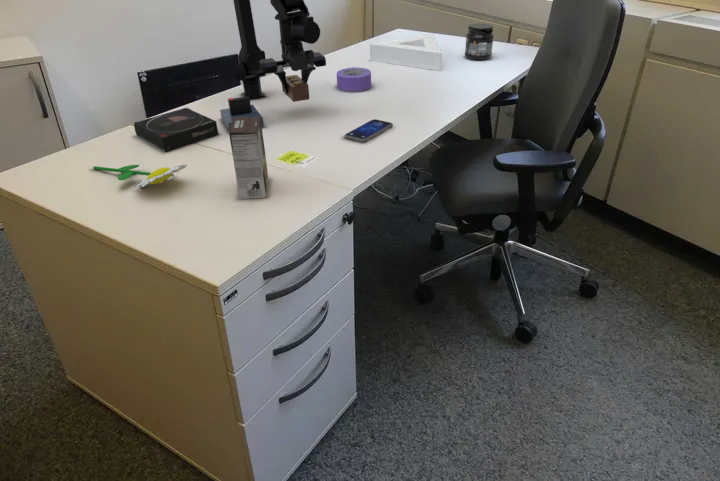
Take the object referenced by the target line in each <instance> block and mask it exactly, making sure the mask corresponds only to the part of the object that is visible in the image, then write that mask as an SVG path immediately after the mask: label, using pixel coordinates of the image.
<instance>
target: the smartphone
mask: <svg viewBox="0 0 720 481" xmlns="http://www.w3.org/2000/svg"><path fill="white" fill-rule="evenodd" d="M393 126H394V124H393V122H390V121H386V120H381V119H377V118H376V119H375V118H373V119H371V120H369V121H367V122H365V123H364V124H362V125H360V126H357V127H356V128H354V129H353V130H351V131H348V132H347V133H345V134H344V138H345V139H348V140H352V141H357V142H359V143H366V142H368V141H370V140H372V139H373V138H375V137H376V136H378V135H380V134H382V133H383V132H385V131H387V130H388V129H390V128H392V127H393Z"/></svg>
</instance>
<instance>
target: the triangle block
mask: <svg viewBox="0 0 720 481" xmlns="http://www.w3.org/2000/svg"><path fill="white" fill-rule="evenodd" d="M369 61H370V62H374V63H375V62H376V63H383V64H390V65H396V66H404V67H411V68H417V69H423V70H425V69H427V70H433V71H439V72H440V71H441V67H442V51H441V49H440V46H439V44H438V41H437V40H436V37H435V35H434V33H432V34H426V35H417V36H413V37H406V38H400V39H394V40H388V41H381V42H374V43H370V44H369Z"/></svg>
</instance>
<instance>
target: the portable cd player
mask: <svg viewBox="0 0 720 481" xmlns="http://www.w3.org/2000/svg"><path fill="white" fill-rule="evenodd" d="M217 124H218V123H217V120H215V119H212V118H210V117H208V116H206V115H203V114H201V113H199V112H197V111H195V110H192V109H190V108H188V107H183V108H180V109H176V110H173V111H170V112H166V113H163V114H162V113H161V114H159V115H156V116H152V117H148V118H144V119H142V120H138V121H135V122H133V127H134V132H135V134H136V137H137V138H139V139H141V140H143V141H144V142H146V143H148V144H150V145H152V146H153V147H155V148H158V150H160V151H162V152H164V153H168V152H171V151H174V150H177V149H180V148H183V147H186V146H189V145H192V144H195V143H199V142H201V141H204V140H207V139H209V138H213V137H216V136H219V129H218V125H217Z"/></svg>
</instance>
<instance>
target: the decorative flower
mask: <svg viewBox="0 0 720 481" xmlns="http://www.w3.org/2000/svg"><path fill="white" fill-rule="evenodd" d="M187 166H188V164H179V165H175V166H173V167H161V168H158V169H155V170H154V171H152V172H150V171H149V172H148V171H139V170H135V169H136V168H139V167H140V164H130V165H125V166H121V167H118V168H115V167H105V166H97V165H94V166H93V170H98V171H106V172H114V173H115V172H116V173H121V174H119V176H118V177H117V180H118V181H125V180H128V179H130V178H131V177H132V176H133V175H138V176H139V175H140V176H146V177H144V179H142V181H140V182H139V184H137V185H136V187H135V189H134V192H136V191H138V190H139V189H140V188H144V187H146V186H147V185H158V184H161V183H164V182H166V181H167V180H168V179H170V178H173V177H175V174H174V173H178V172H180V171H181V170H184V169H186V168H187Z"/></svg>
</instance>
